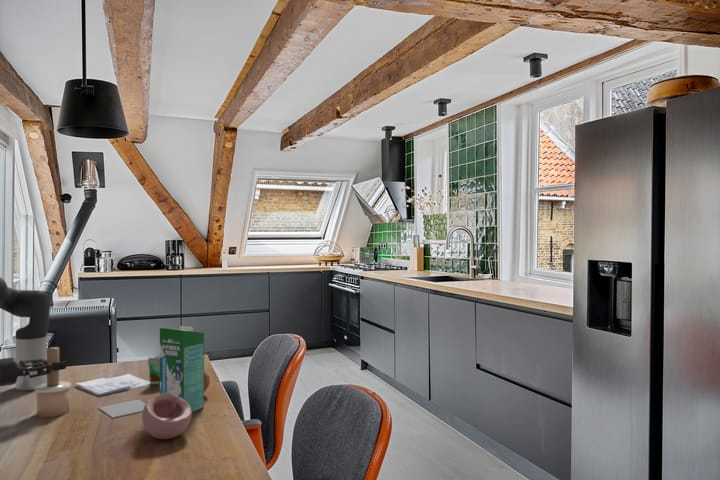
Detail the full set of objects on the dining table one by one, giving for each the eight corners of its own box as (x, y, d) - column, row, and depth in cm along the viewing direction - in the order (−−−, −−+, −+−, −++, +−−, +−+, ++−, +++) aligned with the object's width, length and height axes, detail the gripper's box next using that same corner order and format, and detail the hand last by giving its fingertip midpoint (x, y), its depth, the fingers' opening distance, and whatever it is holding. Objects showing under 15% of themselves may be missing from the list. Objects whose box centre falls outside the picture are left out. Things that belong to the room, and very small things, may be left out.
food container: (163, 388, 185) (164, 359, 185) (147, 387, 186) (147, 358, 186) (182, 379, 197) (182, 351, 197) (167, 378, 199) (167, 350, 198)
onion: (173, 398, 173) (173, 367, 173) (191, 391, 182) (191, 361, 182) (197, 402, 170) (197, 370, 170) (215, 394, 179) (215, 363, 179)
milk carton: (204, 407, 165) (204, 325, 165) (182, 416, 156) (182, 329, 156) (181, 403, 168) (181, 323, 168) (159, 411, 160) (159, 327, 160)
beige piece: (31, 388, 159) (31, 347, 159) (65, 382, 166) (65, 343, 166) (39, 395, 153) (39, 352, 153) (74, 389, 159) (74, 348, 159)
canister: (33, 412, 159) (33, 388, 159) (64, 406, 165) (64, 383, 165) (40, 419, 153) (40, 394, 153) (72, 412, 159) (72, 389, 159)
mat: (98, 408, 163) (98, 407, 163) (138, 400, 171) (138, 399, 171) (112, 418, 154) (112, 417, 154) (154, 409, 163) (154, 408, 163)
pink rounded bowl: (162, 450, 131) (162, 403, 131) (132, 440, 138) (132, 395, 138) (201, 435, 142) (201, 391, 142) (170, 426, 148) (170, 384, 148)
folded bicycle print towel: (73, 388, 187) (73, 381, 187) (130, 376, 203) (130, 371, 203) (98, 398, 175) (98, 392, 175) (156, 385, 190) (156, 379, 190)
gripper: (0, 364, 144) (70, 354, 156) (-10, 355, 154) (56, 347, 166) (0, 392, 144) (70, 380, 156) (-10, 382, 154) (56, 371, 166)
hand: (63, 363), depth 161 cm, fingers open, 4 cm apart
